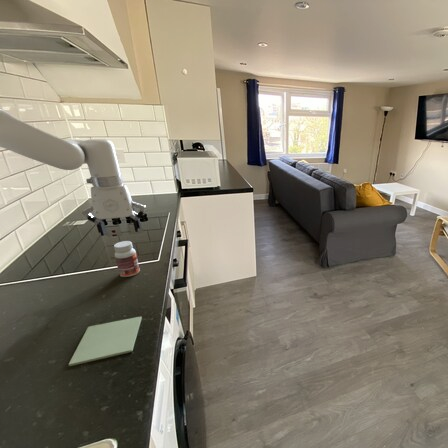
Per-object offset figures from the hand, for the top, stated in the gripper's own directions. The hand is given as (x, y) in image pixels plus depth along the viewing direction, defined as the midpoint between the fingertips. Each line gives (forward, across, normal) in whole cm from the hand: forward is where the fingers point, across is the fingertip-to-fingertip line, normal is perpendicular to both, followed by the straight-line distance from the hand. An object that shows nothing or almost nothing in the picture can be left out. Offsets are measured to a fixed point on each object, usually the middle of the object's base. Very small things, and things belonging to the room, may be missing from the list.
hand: (121, 232), depth 87 cm
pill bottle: (+16, 0, 0) cm, 16 cm away
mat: (+15, +2, -33) cm, 37 cm away
